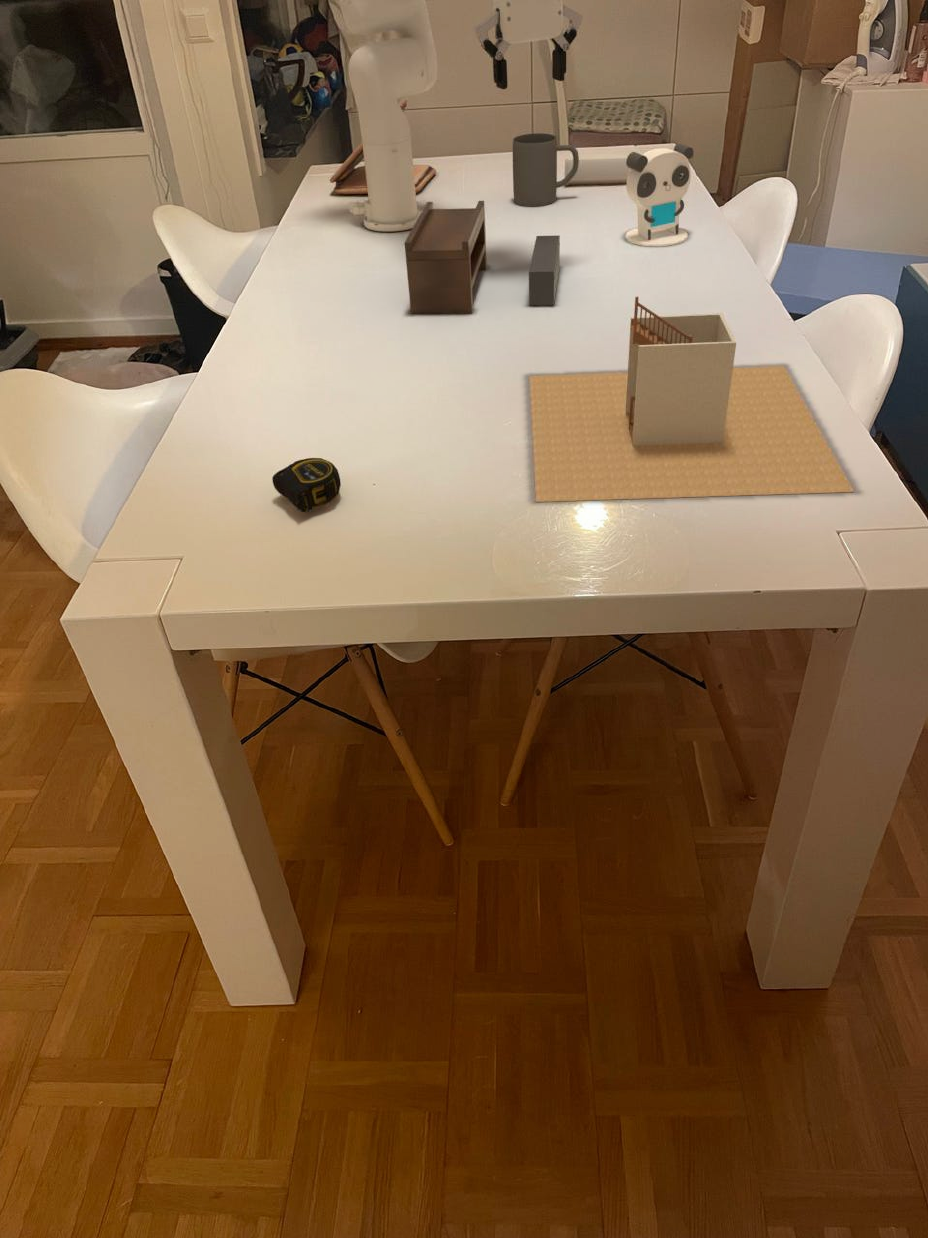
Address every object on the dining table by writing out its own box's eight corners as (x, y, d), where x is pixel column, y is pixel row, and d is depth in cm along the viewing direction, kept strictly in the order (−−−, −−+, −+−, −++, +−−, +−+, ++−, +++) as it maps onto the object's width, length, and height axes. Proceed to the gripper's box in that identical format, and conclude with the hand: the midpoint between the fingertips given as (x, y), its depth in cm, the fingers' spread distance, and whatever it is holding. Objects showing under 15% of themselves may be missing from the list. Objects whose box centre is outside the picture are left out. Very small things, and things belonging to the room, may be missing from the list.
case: (354, 172, 222) (345, 97, 212) (439, 171, 218) (433, 95, 208) (328, 196, 207) (316, 116, 197) (418, 196, 203) (411, 115, 193)
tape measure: (273, 496, 108) (267, 468, 105) (325, 477, 111) (320, 449, 108) (299, 521, 103) (293, 493, 101) (353, 500, 106) (348, 472, 104)
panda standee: (642, 250, 167) (647, 160, 157) (611, 234, 175) (615, 147, 165) (699, 239, 170) (708, 150, 160) (666, 223, 178) (673, 138, 169)
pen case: (528, 305, 149) (528, 271, 146) (536, 267, 163) (536, 235, 160) (554, 305, 149) (554, 271, 145) (559, 267, 162) (560, 235, 159)
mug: (513, 207, 192) (512, 144, 184) (513, 195, 199) (511, 134, 192) (579, 204, 191) (580, 140, 184) (576, 192, 198) (577, 130, 191)
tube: (680, 156, 201) (565, 159, 203) (683, 153, 196) (565, 157, 198) (678, 183, 203) (564, 186, 205) (681, 181, 198) (564, 184, 200)
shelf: (411, 313, 150) (404, 242, 143) (432, 267, 166) (426, 201, 159) (472, 313, 148) (468, 241, 141) (487, 266, 165) (484, 200, 158)
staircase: (624, 412, 119) (631, 283, 108) (710, 409, 118) (726, 279, 108) (631, 445, 112) (640, 311, 102) (722, 442, 111) (741, 307, 101)
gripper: (570, -56, 140) (570, 73, 150) (463, -45, 136) (470, 87, 146) (592, -56, 134) (590, 79, 145) (481, -44, 130) (487, 94, 141)
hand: (530, 83), depth 145 cm, fingers open, 9 cm apart
